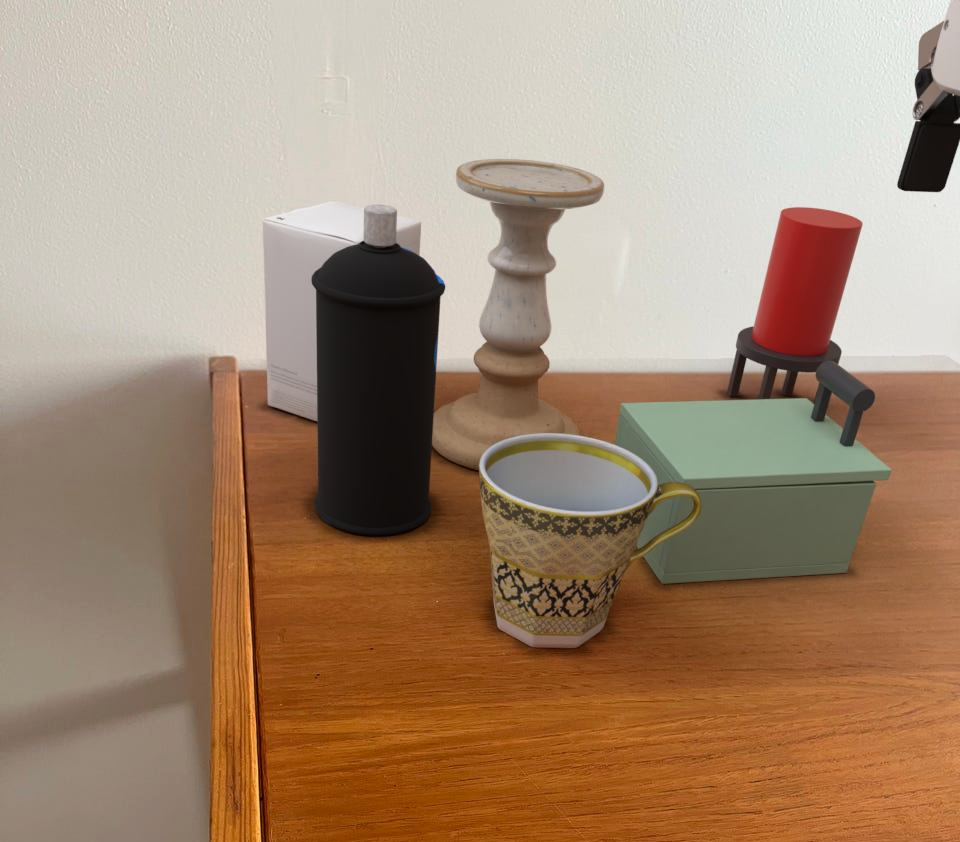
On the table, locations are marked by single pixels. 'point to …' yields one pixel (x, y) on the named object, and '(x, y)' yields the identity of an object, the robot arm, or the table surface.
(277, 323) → the rectangular carton
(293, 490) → the table surface
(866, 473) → the lid
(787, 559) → the green open box
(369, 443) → the aerosol can
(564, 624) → the ceramic cup
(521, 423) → the candle holder
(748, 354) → the stool
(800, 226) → the can
